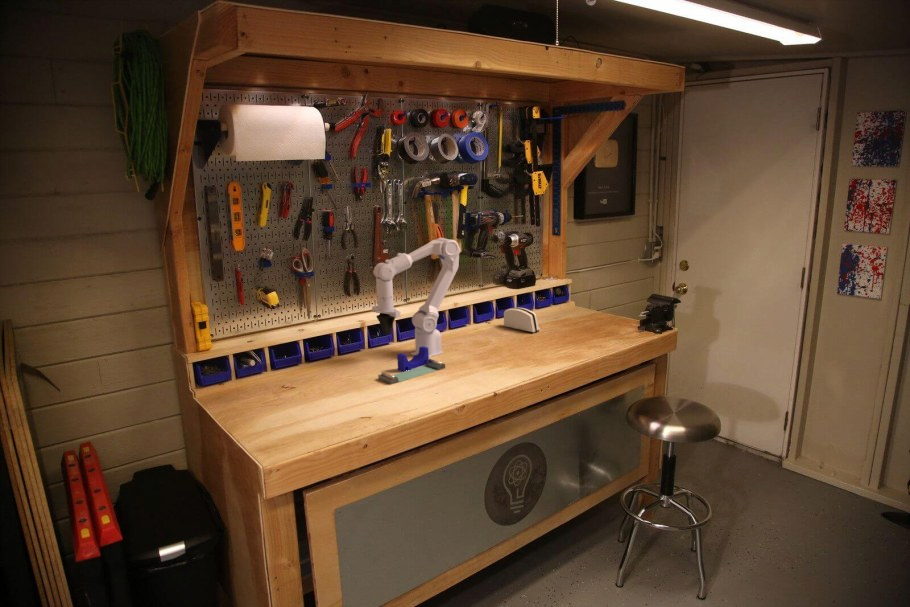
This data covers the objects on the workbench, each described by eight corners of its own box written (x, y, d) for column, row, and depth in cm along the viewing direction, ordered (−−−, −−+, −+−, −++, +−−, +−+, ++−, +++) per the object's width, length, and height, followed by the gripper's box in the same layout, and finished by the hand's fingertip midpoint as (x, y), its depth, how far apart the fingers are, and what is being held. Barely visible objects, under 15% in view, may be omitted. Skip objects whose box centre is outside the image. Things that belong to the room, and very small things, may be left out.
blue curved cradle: (420, 361, 219) (419, 345, 218) (428, 364, 216) (428, 347, 215) (395, 370, 211) (394, 353, 209) (404, 372, 208) (403, 355, 206)
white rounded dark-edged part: (541, 332, 254) (539, 309, 251) (533, 335, 251) (532, 312, 248) (510, 325, 266) (508, 303, 263) (503, 329, 263) (501, 306, 260)
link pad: (424, 366, 213) (424, 365, 213) (437, 370, 208) (437, 370, 208) (387, 376, 203) (387, 376, 203) (399, 381, 198) (399, 381, 198)
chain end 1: (385, 377, 203) (385, 370, 202) (398, 382, 198) (398, 375, 197) (378, 379, 201) (378, 372, 200) (390, 384, 196) (390, 377, 195)
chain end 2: (432, 363, 216) (431, 357, 215) (445, 368, 211) (444, 361, 210) (425, 365, 214) (425, 359, 213) (438, 370, 209) (438, 363, 208)
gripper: (364, 296, 219) (366, 332, 221) (388, 301, 208) (389, 340, 211) (380, 293, 223) (382, 329, 226) (404, 298, 213) (406, 336, 215)
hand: (387, 334), depth 219 cm, fingers closed
